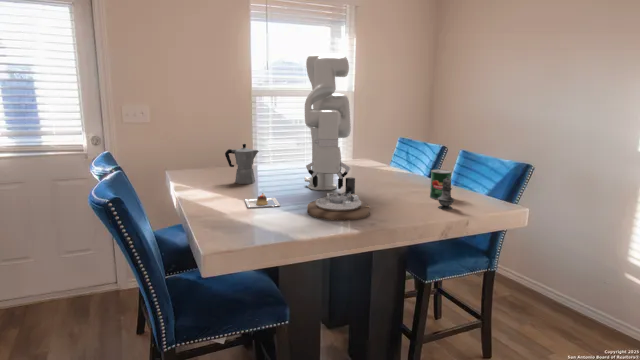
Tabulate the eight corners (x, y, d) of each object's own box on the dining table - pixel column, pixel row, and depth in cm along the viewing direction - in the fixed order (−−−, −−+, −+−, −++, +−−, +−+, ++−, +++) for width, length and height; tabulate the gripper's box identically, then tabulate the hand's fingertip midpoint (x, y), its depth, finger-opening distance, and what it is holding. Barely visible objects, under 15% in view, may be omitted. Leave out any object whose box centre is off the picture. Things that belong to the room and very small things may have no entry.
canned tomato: (444, 195, 177) (446, 169, 175) (453, 199, 169) (455, 172, 167) (426, 195, 176) (428, 169, 174) (434, 200, 168) (436, 172, 166)
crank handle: (353, 213, 140) (354, 192, 138) (308, 208, 145) (308, 187, 144) (371, 197, 161) (372, 179, 160) (331, 194, 167) (332, 175, 165)
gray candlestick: (434, 206, 159) (436, 174, 157) (450, 205, 159) (452, 174, 157) (440, 210, 153) (442, 177, 151) (456, 210, 154) (458, 177, 151)
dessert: (247, 210, 153) (247, 197, 152) (244, 202, 164) (244, 190, 163) (280, 208, 156) (280, 195, 155) (275, 200, 167) (275, 188, 166)
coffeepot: (258, 179, 205) (257, 142, 201) (260, 183, 196) (259, 144, 192) (225, 180, 201) (224, 143, 198) (226, 184, 192) (224, 145, 189)
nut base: (295, 215, 145) (295, 208, 145) (323, 201, 164) (323, 195, 164) (356, 224, 136) (356, 217, 135) (377, 208, 155) (378, 202, 155)
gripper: (303, 143, 159) (303, 188, 162) (348, 145, 155) (347, 191, 158) (309, 141, 166) (309, 184, 170) (352, 143, 162) (351, 187, 165)
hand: (327, 187), depth 164 cm, fingers open, 9 cm apart
